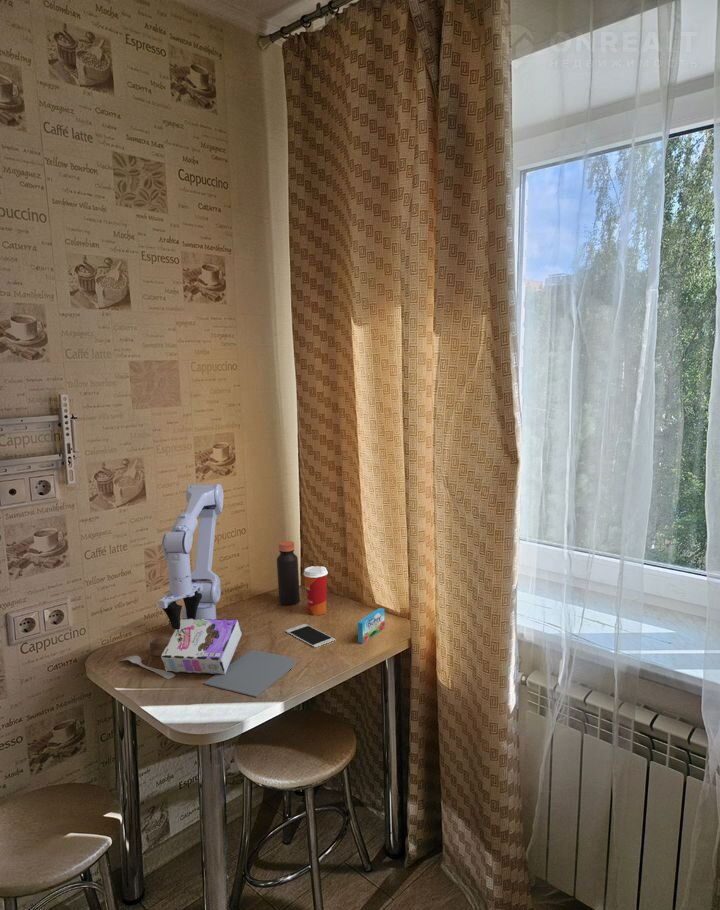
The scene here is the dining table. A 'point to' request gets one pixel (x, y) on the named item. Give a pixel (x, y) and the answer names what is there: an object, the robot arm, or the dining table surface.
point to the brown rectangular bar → (159, 645)
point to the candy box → (202, 646)
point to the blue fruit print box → (371, 625)
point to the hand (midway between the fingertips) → (183, 624)
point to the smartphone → (310, 635)
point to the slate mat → (252, 673)
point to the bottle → (288, 574)
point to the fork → (138, 661)
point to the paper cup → (316, 589)
